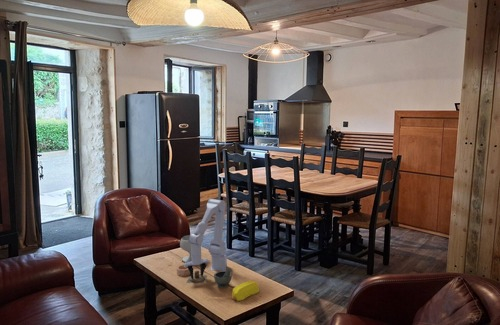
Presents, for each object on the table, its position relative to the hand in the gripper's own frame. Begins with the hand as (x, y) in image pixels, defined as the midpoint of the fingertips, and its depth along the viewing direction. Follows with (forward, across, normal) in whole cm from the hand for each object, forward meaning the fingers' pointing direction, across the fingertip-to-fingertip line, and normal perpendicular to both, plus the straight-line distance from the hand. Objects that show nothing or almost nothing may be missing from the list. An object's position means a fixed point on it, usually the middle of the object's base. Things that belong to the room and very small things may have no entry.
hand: (196, 276), depth 220 cm
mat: (+2, 0, 0) cm, 2 cm away
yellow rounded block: (+2, -17, +30) cm, 34 cm away
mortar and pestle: (+2, -11, +15) cm, 19 cm away
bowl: (+2, +4, -12) cm, 13 cm away
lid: (+1, 0, 0) cm, 1 cm away
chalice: (+2, -7, -31) cm, 32 cm away
